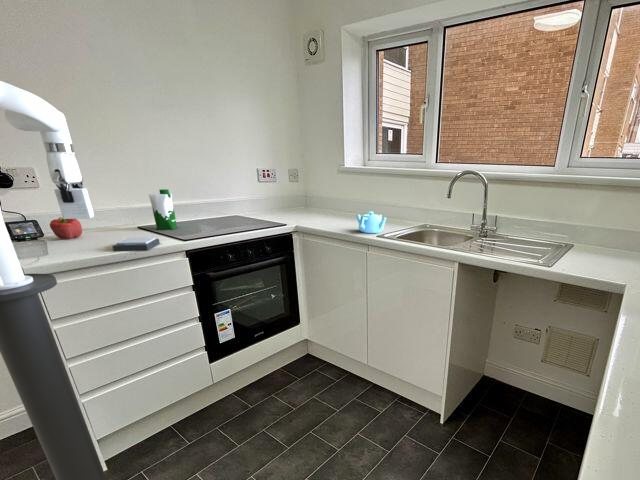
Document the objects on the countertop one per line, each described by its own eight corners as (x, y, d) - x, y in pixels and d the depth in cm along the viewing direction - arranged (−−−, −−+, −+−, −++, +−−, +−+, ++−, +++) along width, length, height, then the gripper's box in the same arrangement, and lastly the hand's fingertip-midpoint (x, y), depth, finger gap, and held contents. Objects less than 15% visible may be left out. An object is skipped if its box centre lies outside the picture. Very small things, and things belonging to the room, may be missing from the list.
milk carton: (173, 230, 184) (165, 190, 176) (154, 230, 181) (145, 190, 174) (179, 227, 191) (172, 189, 184) (160, 227, 189) (152, 188, 182)
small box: (95, 216, 136) (87, 188, 132) (90, 218, 131) (82, 189, 127) (68, 217, 132) (59, 188, 129) (62, 219, 128) (53, 189, 124)
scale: (147, 250, 143) (146, 243, 142) (113, 251, 140) (111, 243, 139) (159, 243, 155) (158, 237, 154) (128, 244, 152) (127, 237, 151)
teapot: (356, 229, 205) (355, 210, 201) (381, 228, 208) (381, 210, 204) (359, 233, 191) (359, 213, 187) (386, 233, 194) (386, 213, 190)
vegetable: (81, 239, 156) (75, 217, 153) (50, 241, 151) (43, 218, 148) (86, 235, 165) (80, 213, 161) (57, 236, 160) (50, 214, 156)
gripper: (62, 149, 130) (76, 199, 136) (29, 147, 115) (47, 204, 121) (86, 150, 132) (99, 199, 138) (56, 148, 116) (73, 204, 123)
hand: (74, 201), depth 130 cm, fingers closed on small box, 6 cm apart
